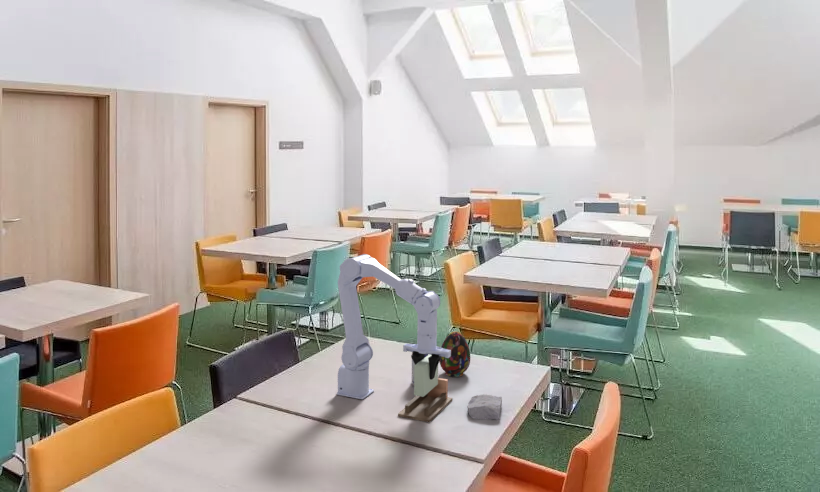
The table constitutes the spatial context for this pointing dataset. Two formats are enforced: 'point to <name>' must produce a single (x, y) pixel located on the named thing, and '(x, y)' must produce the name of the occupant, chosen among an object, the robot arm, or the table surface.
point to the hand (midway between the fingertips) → (426, 377)
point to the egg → (455, 355)
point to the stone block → (485, 407)
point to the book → (424, 378)
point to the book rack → (428, 403)
